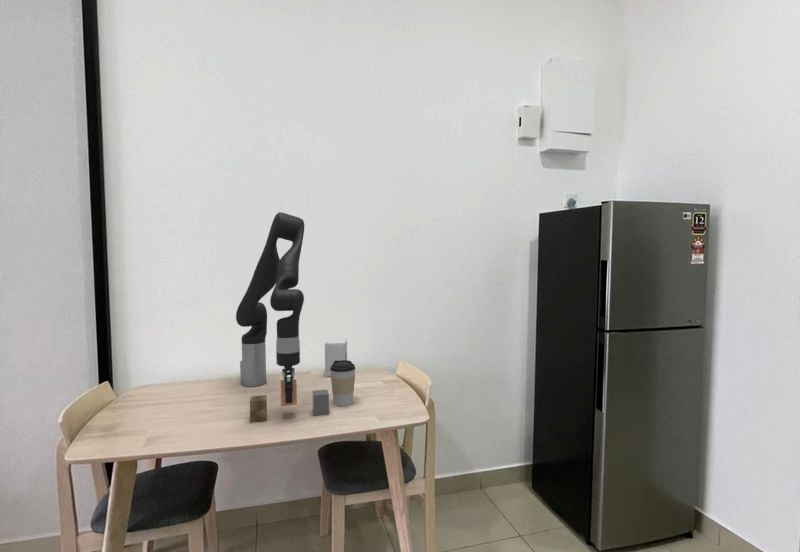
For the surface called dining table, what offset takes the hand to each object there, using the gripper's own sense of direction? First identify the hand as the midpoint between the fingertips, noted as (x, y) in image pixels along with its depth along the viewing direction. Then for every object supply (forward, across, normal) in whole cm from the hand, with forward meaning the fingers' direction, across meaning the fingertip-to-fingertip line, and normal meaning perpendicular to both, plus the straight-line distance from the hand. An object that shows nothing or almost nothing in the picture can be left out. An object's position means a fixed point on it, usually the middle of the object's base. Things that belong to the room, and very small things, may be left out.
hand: (288, 399), depth 144 cm
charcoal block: (+5, 0, -10) cm, 12 cm away
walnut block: (+6, 0, +10) cm, 11 cm away
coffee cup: (+6, +7, -19) cm, 21 cm away
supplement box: (+6, +42, -21) cm, 48 cm away
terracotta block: (+1, 0, 0) cm, 1 cm away
